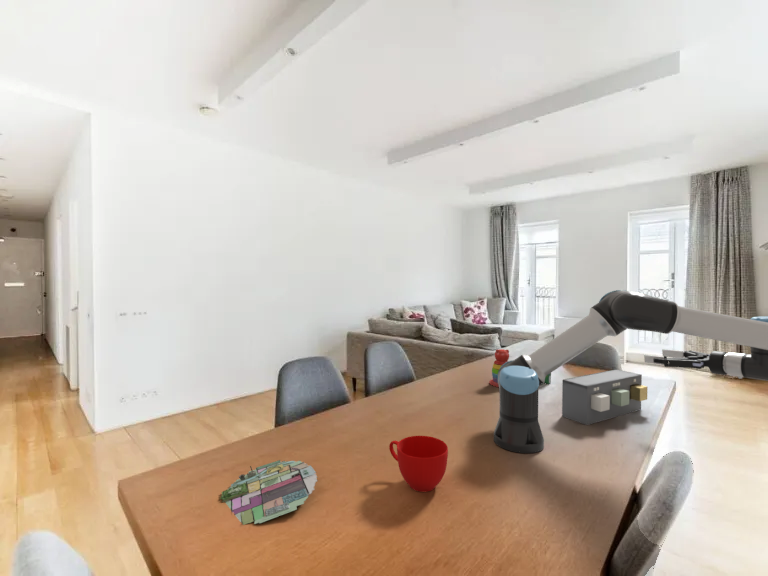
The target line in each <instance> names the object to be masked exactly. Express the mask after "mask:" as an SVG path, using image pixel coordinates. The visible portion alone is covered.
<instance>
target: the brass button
mask: <svg viewBox="0 0 768 576" xmlns="http://www.w3.org/2000/svg"><path fill="white" fill-rule="evenodd" d="M630 399H633V400H637V401H641V402H642V401H647V400H648V386H647V385H644V384H643V385H639V384H634V385H630Z"/></svg>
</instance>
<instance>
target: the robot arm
mask: <svg viewBox="0 0 768 576" xmlns="http://www.w3.org/2000/svg"><path fill="white" fill-rule="evenodd" d="M626 330H634V331H643V332H644V331H646V332H654V333H655V332H656V333H661V334H665V335H667V334H668V335H669V334H670V333H672V332H673V333H678V334H682V335H683V334H684V335H688V336H693V337H698V338H699V337H700V338H704V339H709V340H715V341H718V342H719V341H720V342H724V343H730V344H735V345H739V346H745V347H750V353H741V352H740V353H739V352H732V351H731V352H726V351H719V350H712V351H711V352H710V353H705V352H702V351H695V350H676V349H665V348H662V350H661V352H662V353H661V354H662V355H661V356H660V355H651V354H643V357H644V359H643V360H644V363H646V364H647V363H649V364H655V365H662V366H663V367H665V368H681V369H683V368H685V369H686V368H687V369H698V370H700V369H704V368H706V367H707V368H708V369H709V371H710V373H711V374H713V375H714V374H715V375H721V376H727V375H728V376H731V377H737V378H738V379H739V380H740V379H741V380H743V378H745V379H753V380H760V381H766V382H768V316H765V315H764V316H761V315H759V316H753V317H751V318H744V317H740V316H734V315H729V314H722V313H719V312H713V311H706V310H703V309H702V310H701V309H697V308H696V309H695V308H692V307H691V308H690V307H685V306H679V305H678V303H677V302H676V301H671V300H667V299H662V298H659V297H656V296H655V297H654V296H652V295H648V294H645V293H642V292H637V291H631V290H630V291H629V290H626V289H617V290H612V291H609V292H607V293H605V294H604V295H603V296H601V298H600V299H599V301H598V302H597V303H596V304H594V305H593V306H591V307H590V308H589V312H588V315H587V316H586V317H584V318H582V319H581V320H579V321H578V322H576V323H575V324H573V325H572V326H570V327H569V328H567V329H566V330H565V331H562V332H561V333H560V334H559V335H557V336H556V337H554V338H553V339H551V340H549V342H547V343H544V345H542V346H541V347H539V348H538V349H537V350H535V351H534V352H532V353H531V354H528V355H527V354H525V353H524V354H523V353H522V354H520V355H519V356H518V357H516V358H515V359H513V360H508V362H506V363H504V364H503V365H502V366H501V367H500V369H499V372H498V375H497V381H498V384H499V389H498V390H499V417H498V420H497V422H496V425H495V428H494V431H493V442H494V443H495V444H496V446H498V447H500V448H502V449H504V450H507V451H510V452H513V453H520V454H534V453H538V452H541V451H543V450H544V448H545V438H544V435H543V431H542V429H541V426H540V423H539V387H541V385H543V384H545V383H544V382H545V377H546V376H547V375H548V374H550V373H551V374H552V372H554V371H556V370H557V369H559V368H560V367H562V366H563V365H565V364H566V363H568V362H569V361H571V360H572V359H574V358H575V357H577V356H579V355H580V354H581V353H583V352H585V351H587V349H589V348H591V347H593V346H594V345H595V344H597V343H598V342H600V341H601V340H603V339H604V338H606V337H608V336H610V337H616V336H619V335H620V334H621V333H623V332H624V331H626Z"/></svg>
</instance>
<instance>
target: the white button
mask: <svg viewBox="0 0 768 576" xmlns="http://www.w3.org/2000/svg"><path fill="white" fill-rule="evenodd" d="M591 409H594V410H597V411H600V412H602V411H606V410H610V396H609V395H605V394H602V393H595V394H591Z"/></svg>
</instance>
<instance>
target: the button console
mask: <svg viewBox="0 0 768 576" xmlns="http://www.w3.org/2000/svg"><path fill="white" fill-rule="evenodd" d="M634 384H639V385H642V374H640V373H635V372H631V371H626V370H621V369H617V368H615V369H611V370H606V371H600V372H596V373H590V374H584V375H580V376H575V377H569V378H565V379H562V383H561V385H562V391H561V392H562V395H561V396H562V397H561V398H562V399H561V401H562V402H561V405H562V406H561V417H563V418H567V419H569V420H571V421H574V422H577V423H580V424H582V425H586V426H588V425H591V424H596V423H599V422H602V421H606V420H609V419H613V418H616V417H620V416H624V415H628V414H631V413H634V412H637V410H638V411H641V410H642V401H637V400H633V399H630V385H634ZM616 388H620V389H624V390H628V391H629V404H628V405H624V406H618V405H615V404H611V390H612V389H616ZM595 393H602V394H605V395H609V396H610V410H606V411H602V412H600V411H597V410H594V409H591V394H595ZM630 412H631V413H630Z"/></svg>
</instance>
